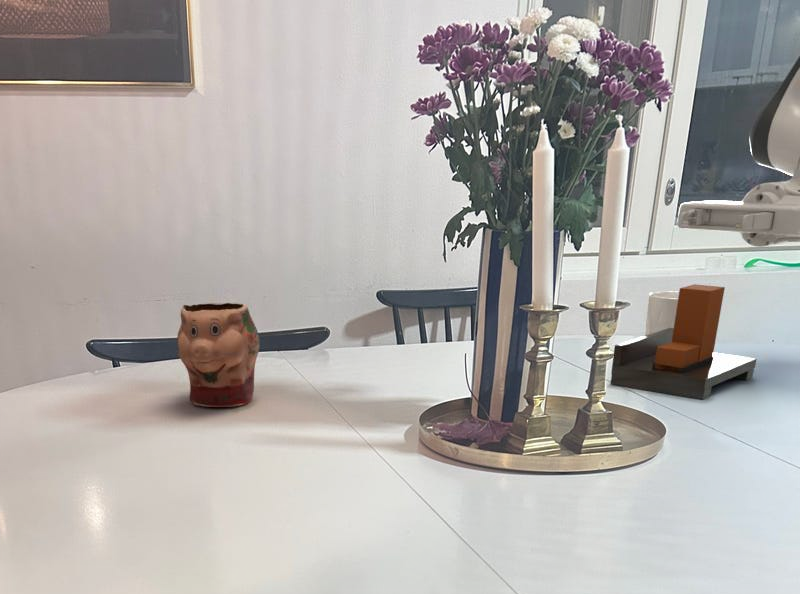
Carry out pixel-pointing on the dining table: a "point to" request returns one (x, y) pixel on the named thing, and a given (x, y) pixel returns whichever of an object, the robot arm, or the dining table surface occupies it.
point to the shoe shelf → (638, 373)
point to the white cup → (661, 311)
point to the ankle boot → (692, 329)
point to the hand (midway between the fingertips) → (711, 220)
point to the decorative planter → (218, 353)
